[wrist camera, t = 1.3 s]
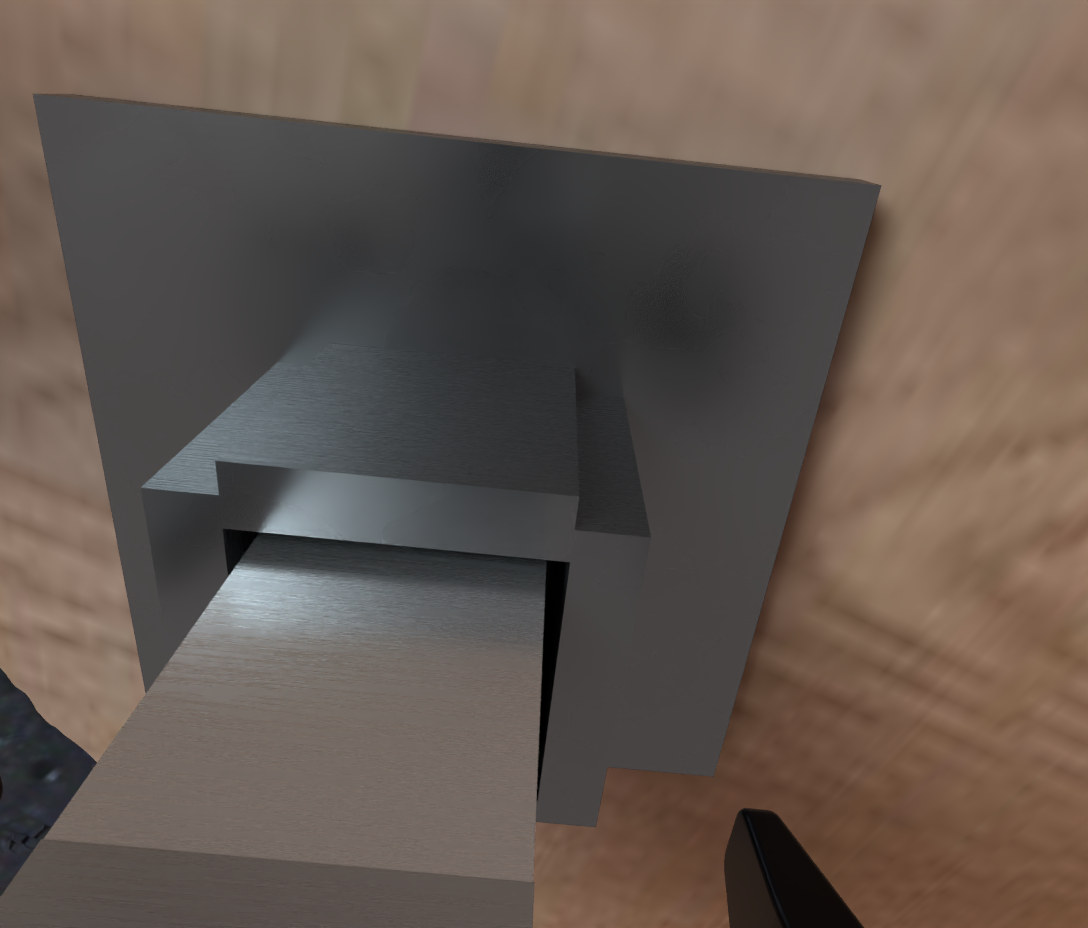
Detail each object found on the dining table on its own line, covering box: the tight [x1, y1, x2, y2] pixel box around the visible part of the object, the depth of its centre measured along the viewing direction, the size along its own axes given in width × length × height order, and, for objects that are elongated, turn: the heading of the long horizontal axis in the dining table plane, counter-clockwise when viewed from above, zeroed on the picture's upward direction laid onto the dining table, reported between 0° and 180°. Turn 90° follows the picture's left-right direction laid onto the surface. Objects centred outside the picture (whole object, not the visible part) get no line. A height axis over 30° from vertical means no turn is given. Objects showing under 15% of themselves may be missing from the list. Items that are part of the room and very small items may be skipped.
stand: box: [33, 94, 881, 827], centre depth 13 cm, size 14×14×6 cm
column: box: [0, 532, 546, 928], centre depth 11 cm, size 4×4×10 cm
